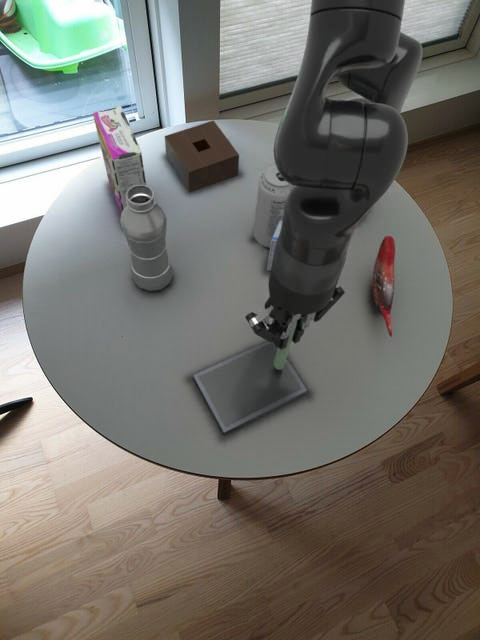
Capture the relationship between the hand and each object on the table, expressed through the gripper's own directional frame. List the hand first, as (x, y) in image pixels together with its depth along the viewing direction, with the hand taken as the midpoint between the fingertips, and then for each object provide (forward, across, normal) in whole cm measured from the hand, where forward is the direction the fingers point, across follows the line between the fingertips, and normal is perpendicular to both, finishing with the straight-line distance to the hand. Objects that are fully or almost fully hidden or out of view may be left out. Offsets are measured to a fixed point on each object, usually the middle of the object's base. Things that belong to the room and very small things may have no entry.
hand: (286, 340), depth 74 cm
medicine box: (+11, +12, +16) cm, 23 cm away
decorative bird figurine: (+10, +20, +3) cm, 23 cm away
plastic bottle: (+11, -10, +24) cm, 28 cm away
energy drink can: (+11, +12, +23) cm, 28 cm away
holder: (+10, +9, +44) cm, 46 cm away
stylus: (+9, 0, 0) cm, 9 cm away
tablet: (+10, -5, 0) cm, 11 cm away
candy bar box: (+11, -7, +41) cm, 43 cm away
